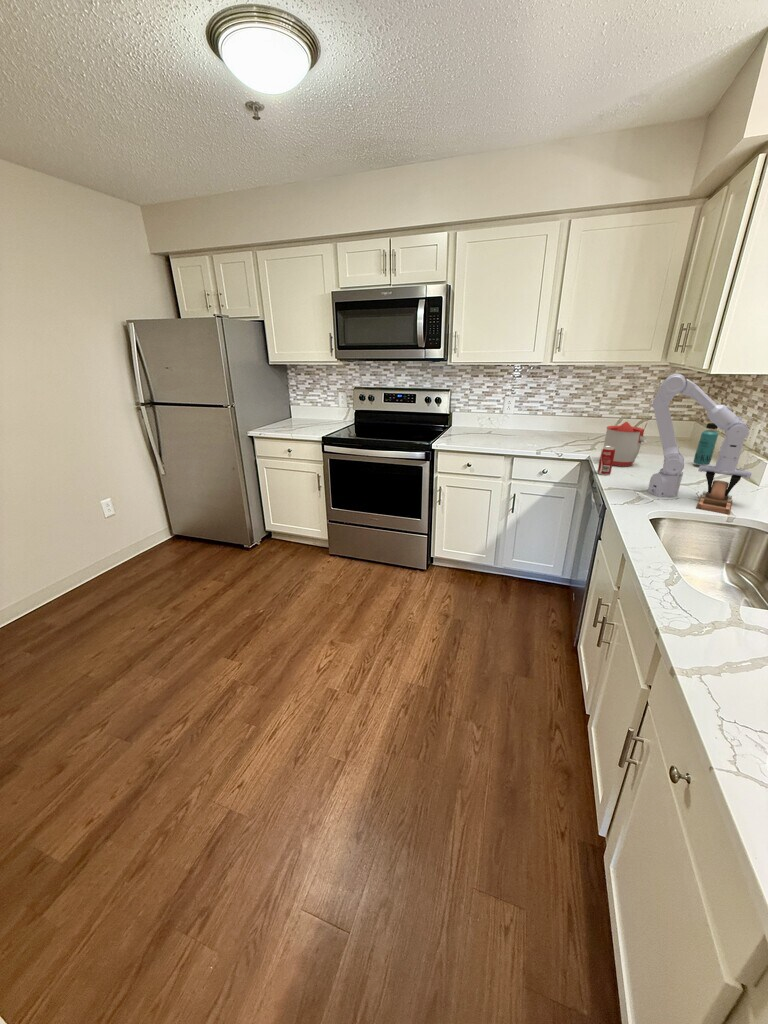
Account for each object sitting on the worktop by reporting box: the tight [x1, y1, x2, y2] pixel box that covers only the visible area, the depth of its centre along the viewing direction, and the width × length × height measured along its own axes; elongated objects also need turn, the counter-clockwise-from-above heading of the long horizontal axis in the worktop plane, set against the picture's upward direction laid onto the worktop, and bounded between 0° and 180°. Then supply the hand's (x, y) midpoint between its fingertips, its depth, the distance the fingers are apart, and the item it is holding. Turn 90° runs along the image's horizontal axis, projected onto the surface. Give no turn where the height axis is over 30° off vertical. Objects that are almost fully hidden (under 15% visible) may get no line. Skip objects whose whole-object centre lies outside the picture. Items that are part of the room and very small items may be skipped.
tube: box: [709, 479, 730, 500], centre depth 150 cm, size 4×4×7 cm
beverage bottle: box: [693, 422, 719, 466], centre depth 193 cm, size 6×7×20 cm
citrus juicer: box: [603, 421, 647, 467], centre depth 198 cm, size 16×17×20 cm
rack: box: [695, 490, 733, 516], centre depth 148 cm, size 18×9×2 cm, turn 140°
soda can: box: [597, 445, 615, 476], centre depth 184 cm, size 5×5×12 cm
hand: (717, 493), depth 150 cm, fingers closed on tube, 4 cm apart
